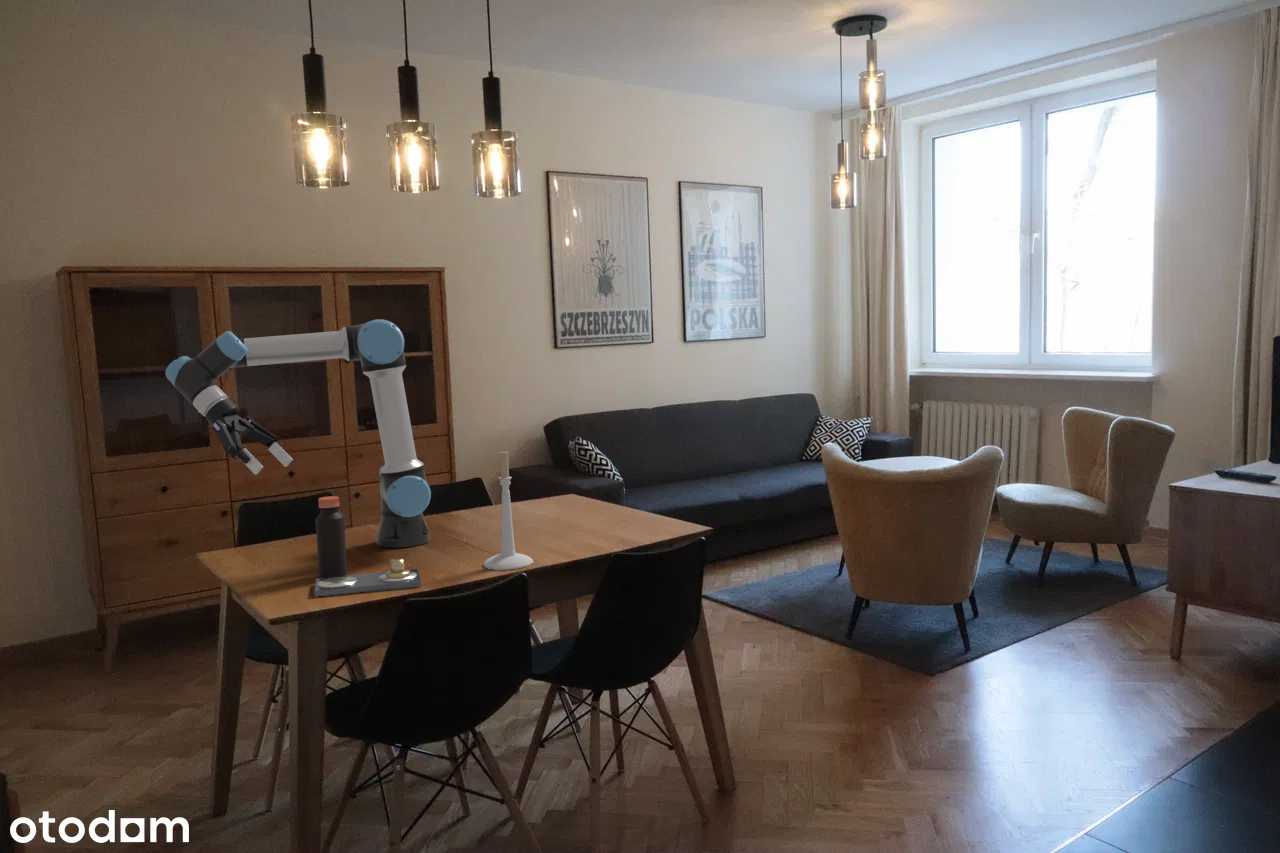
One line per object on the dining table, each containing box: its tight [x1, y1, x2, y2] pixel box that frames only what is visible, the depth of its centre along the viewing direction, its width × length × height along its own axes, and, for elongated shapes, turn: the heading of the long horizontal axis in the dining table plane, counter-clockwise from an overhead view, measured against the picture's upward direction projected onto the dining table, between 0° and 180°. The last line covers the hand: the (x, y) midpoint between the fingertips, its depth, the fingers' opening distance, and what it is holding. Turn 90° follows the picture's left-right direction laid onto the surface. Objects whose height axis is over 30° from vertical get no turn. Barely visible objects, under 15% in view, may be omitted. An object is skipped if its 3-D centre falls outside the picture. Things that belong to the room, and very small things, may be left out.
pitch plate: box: [314, 557, 422, 598], centre depth 224 cm, size 24×12×6 cm, turn 107°
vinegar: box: [315, 495, 348, 578], centre depth 233 cm, size 7×7×20 cm
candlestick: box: [483, 451, 534, 571], centre depth 240 cm, size 13×13×30 cm
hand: (274, 467), depth 234 cm, fingers open, 13 cm apart
